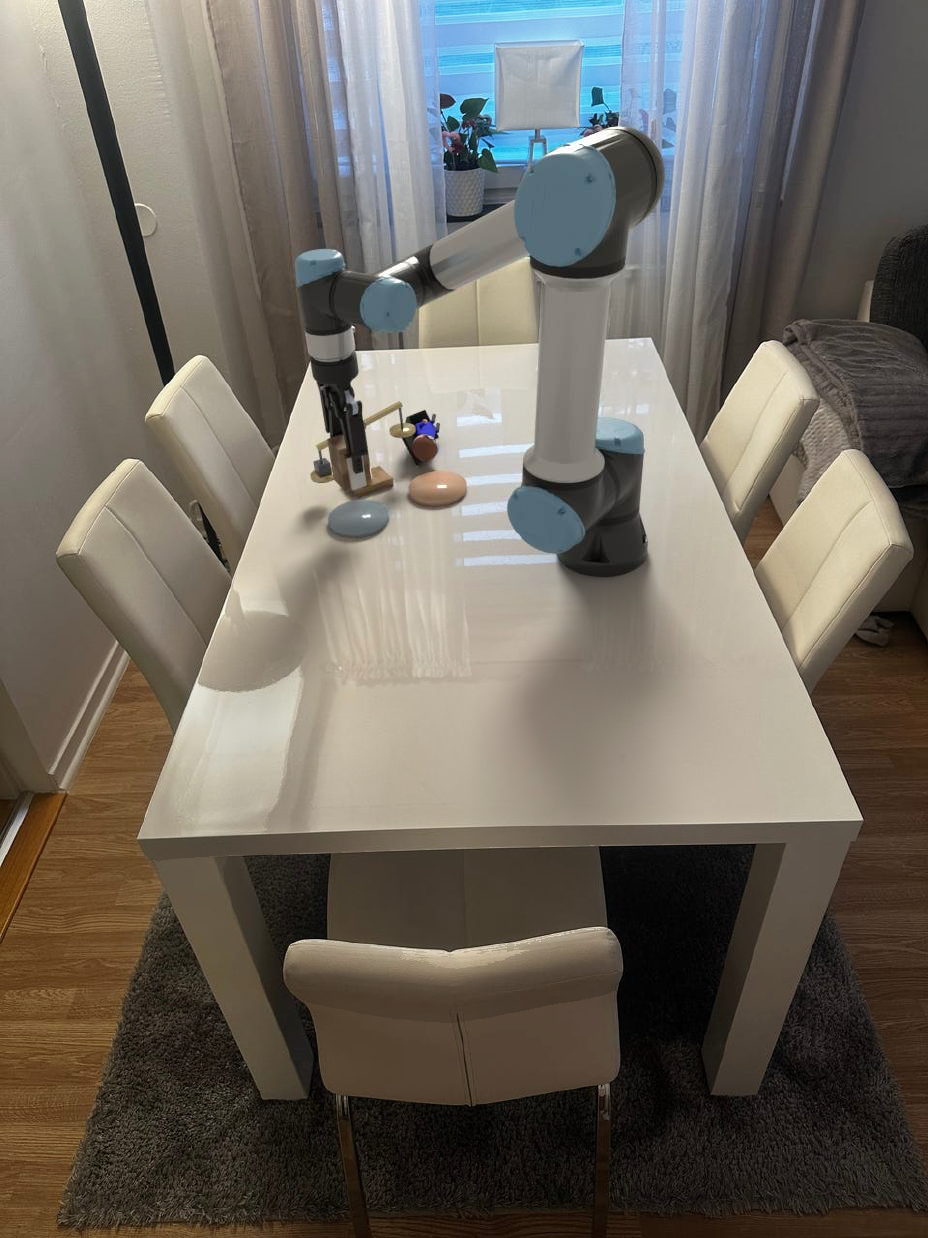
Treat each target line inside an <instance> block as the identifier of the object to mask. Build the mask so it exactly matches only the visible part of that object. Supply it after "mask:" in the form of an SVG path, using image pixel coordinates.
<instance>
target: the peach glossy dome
mask: <svg viewBox="0 0 928 1238" xmlns="http://www.w3.org/2000/svg"><path fill="white" fill-rule="evenodd" d="M467 485H468V484H467V480H466V479H465V477H464V476H463V475H461V474H460V473H457V472H454V471H449V470H435V471H429V472H425V473H422V474H419V475H418V476H416V477H415V478H413V479H412V480H411V481H410V482H409V484H408V495H409V497H410V499H411V500H412V501H414V503H417V504H420V505H423V506H429V507H439V506H447V505H450V504H454V503H456V502H458V501H459V500H461V499H463V498H464V496H465V495H466V494H467V491H468V486H467Z"/></svg>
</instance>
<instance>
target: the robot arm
mask: <svg viewBox="0 0 928 1238" xmlns="http://www.w3.org/2000/svg"><path fill="white" fill-rule="evenodd" d="M665 179H666V168H665V163H664V158H663V156H662V154H661V151H660V150H659V148H658V146H657V145H656V143H655V142H654V141H653V139H651V138H650V137H649V136H648V135H647V134H645V133H644V132H642V131H640V130H638V129H636V128H633V127H628V126H612V127H607V128H604V129H602V130H600V131H598V132H596V133H594V134H590V135H589V136H586V137H583V138H582V139H579V140H577V141H576V140H575V141H574V142H567V143H565V144H560V145H559V146H558V147H555V148H553V149H551V150H550V151H548V152H547V153H545V155H543V156H541V158H538V159H537V160H536V161H535V162H534V163H533V164H531V166H530V167H529V168H528V170H526V172H525V173H524V174H523V176H522V179H521V181H520V182H519V185H518V187H517V190H516V194H515V197H514V199H513V200H511V201H509V202H507V203H506V204H503V205H502V206H500V207H499V208H497V209H495V210H492V211H490V212H489V213H487V214H485V215H483V216H481V217H479V218H477V219H476V220H473V222H471V223H468V224H467V225H465V226H463V227H461V228H459V229H457V230H456V231H453V232H452V233H450V234H448V235H446V236H444V237H443V238H441V239H439V240H437V241H436V242H434V243H432V244H429V245H428V246H426V247H424V248H422V249H420V250H418V251H416V252H414V253H412V254H410V255H408V256H406V257H404V258H402V259H400V260H399V261H398V260H397V261H396V262H395V261H394V262H393V263H391V264H389V265H386V266H384V267H382V268H381V269H378V270H375V271H373V272H371V273H364V272H363V273H362V272H358V271H357V272H356V271H353V270H349V269H346V266H347V264H346V263H345V260H344V259H345V258H344V256H343V254H342V253H341V252H339V251H338V250H335V249H333V248H332V249H331V248H319V249H312V250H308V251H305V252H302V253H301V254H299V255H298V256H297V257H296V259H295V261H294V270H295V280H296V284H295V285H296V288H297V291H298V298H299V303H300V308H301V315H302V319H303V325H304V334H305V339H306V341H305V342H306V347H307V352H308V353H307V354H309V356H310V358H309V363H310V367H311V374H312V377H313V380H314V381H316V384H317V389H318V392H319V398H320V403H321V409H322V416H323V422H324V430H325V432H326V434H329V438H332V437H335V436H339V435H342V434H343V436H344V440H345V444H346V448H347V452H348V454H345V455H344V457H345V459H346V460H347V466H348V473H349V479H350V485H351V489H352V490H355V489H358V488H361V487H364V486H367V484H366V477H365V470H364V463H363V455H367V454H368V452H369V450H368V451H367V445H368V443H367V444H366V438H367V436H366V437H365V431H366V429H365V430H364V423H363V420H364V417H363V402H362V401H361V400H355V395H356V394H355V391H354V387H352V381H353V380H354V379H356V378H357V376H358V375H359V371H360V370H359V362H358V356H357V352H356V351H355V350H356V344H355V342H356V341H355V337H354V335H355V334H354V333H356V328H355V327H354V326H358V327H361V328H365V329H369V330H372V331H375V332H381V333H392V334H398V333H402V332H404V331H406V330H407V329H408V328H409V326H410V323H411V322H413V320H414V318H415V316H416V312H417V310H418V309H421V308H422V307H424V306H426V305H428V304H430V303H431V302H434V301H436V300H439V299H440V298H442V297H444V296H447V295H448V294H451V293H453V292H454V291H456V290H458V289H461V288H463V287H465V286H467V285H469V284H471V283H473V282H475V281H477V280H480V279H481V278H484V277H486V276H488V275H490V274H493V273H495V272H497V271H500V270H502V269H504V268H506V267H507V266H510V265H512V264H515V263H517V262H518V261H520V260H523V259H525V258H527V257H529V266H530V268H531V270H532V272H534V273H535V274H536V275H537V276H538V277H539V278H540V280H541V285H540V305H539V307H540V308H539V325H538V326H539V330H538V352H537V353H538V355H537V372H536V373H537V374H536V375H537V377H536V378H537V379H536V399H535V422H534V444H533V445H531V446H530V447H528V448H527V449H526V450H525V452H524V454H523V457H522V472H521V473H522V475H521V478H522V479H521V485H520V486H519V487H517V488H516V489H514V490H513V491H512V494H511V495H510V497H509V498H508V501H507V506H506V512H507V517H508V520H509V522H510V524H511V526H512V528H513V530H514V531H515V533H517V534H518V535H519V536H520V538H521V539H522V540H523V541H524V542H525V543H526V544H527V545H529V546H530V547H532V548H534V549H536V550H538V551H540V552H542V553H547V554H552V555H554V554H556V556H557V558H558V560H559V561H560V562H561V563H562V564H563V565H564V566H565V567H567V568H569V569H570V570H572V571H574V572H576V573H579V574H583V575H587V576H592V577H593V576H595V577H613V576H614V577H615V576H620V575H624V574H626V573H629V572H631V571H634V570H635V569H637V568H638V567H639V566H641V565H643V563H644V562H645V560H646V559H647V555H648V547H649V546H648V545H649V540H648V539H649V538H648V535H647V533H646V530H645V526H644V522H643V520H642V517H641V513H640V507H641V506H640V504H641V496H642V495H641V493H642V480H643V469H644V455H645V453H646V449H645V435H644V432H643V431H642V430H641V429H640V428H639V426H637V425H636V424H635V423H632V422H630V421H627V420H624V419H622V418H621V419H620V418H615V417H610V416H609V417H607V416H599V412H600V411H599V410H600V401H601V400H600V399H601V392H602V391H601V389H602V388H601V387H602V379H603V368H604V367H603V366H604V359H605V358H604V357H605V347H606V346H605V345H606V339H607V338H606V337H607V327H608V326H607V325H608V316H609V306H610V305H609V304H610V294H611V284H612V281H613V280H614V279H615V278H617V277H618V276H619V275H620V274H621V273H622V272H623V271H625V270H624V269H625V266H626V259H627V250H628V239H629V231H630V230H632V229H633V228H635V227H636V226H638V225H639V224H641V223H642V222H644V221H645V220H646V219H647V218H648V217H649V216H650V215H651V214H652V213H653V211H654V209H655V208H656V207H657V205H658V203H659V201H660V200H661V198H662V194H663V191H664V188H665Z"/></svg>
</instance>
